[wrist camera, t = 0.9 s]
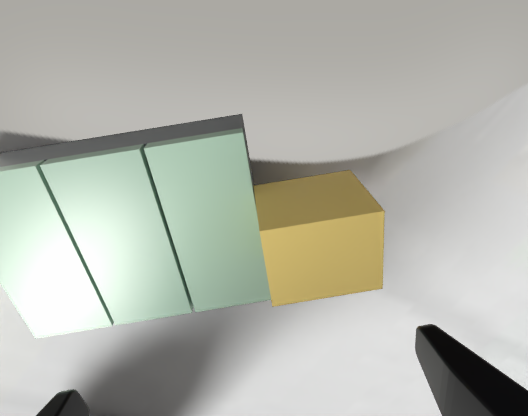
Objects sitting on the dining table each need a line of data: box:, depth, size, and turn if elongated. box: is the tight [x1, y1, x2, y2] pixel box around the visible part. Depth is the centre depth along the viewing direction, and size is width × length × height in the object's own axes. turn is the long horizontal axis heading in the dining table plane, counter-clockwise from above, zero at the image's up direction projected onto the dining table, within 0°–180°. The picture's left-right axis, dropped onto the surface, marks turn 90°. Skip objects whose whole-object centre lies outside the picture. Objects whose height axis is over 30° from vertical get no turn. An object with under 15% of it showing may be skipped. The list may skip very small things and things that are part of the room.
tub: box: [0, 114, 257, 210], centre depth 20 cm, size 10×14×3 cm
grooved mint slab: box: [0, 128, 385, 339], centre depth 16 cm, size 10×19×4 cm, turn 98°
